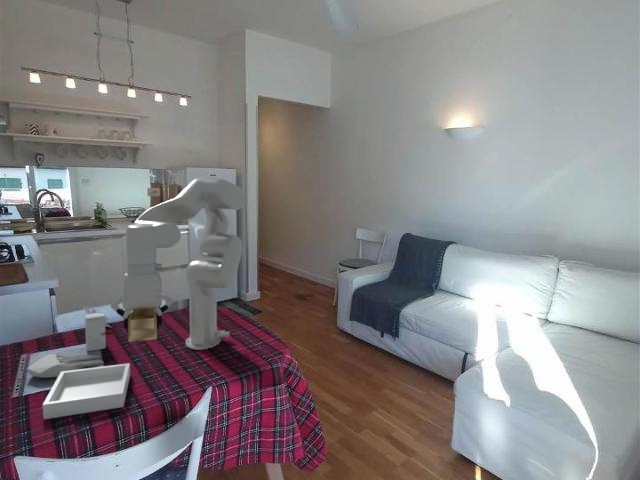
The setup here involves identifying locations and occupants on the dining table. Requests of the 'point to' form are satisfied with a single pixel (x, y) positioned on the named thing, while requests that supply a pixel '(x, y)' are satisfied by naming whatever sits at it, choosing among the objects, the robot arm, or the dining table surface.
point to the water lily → (96, 312)
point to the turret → (60, 364)
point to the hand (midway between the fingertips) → (143, 328)
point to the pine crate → (142, 324)
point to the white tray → (87, 391)
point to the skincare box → (95, 331)
